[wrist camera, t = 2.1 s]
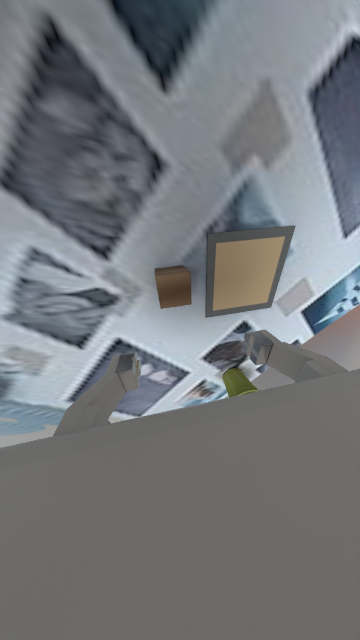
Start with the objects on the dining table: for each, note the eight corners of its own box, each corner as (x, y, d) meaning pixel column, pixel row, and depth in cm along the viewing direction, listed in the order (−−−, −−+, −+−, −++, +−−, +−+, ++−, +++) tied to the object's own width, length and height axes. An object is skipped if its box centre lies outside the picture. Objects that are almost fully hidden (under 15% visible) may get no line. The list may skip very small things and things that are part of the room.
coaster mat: (207, 233, 23) (208, 233, 22) (294, 225, 24) (295, 225, 24) (205, 317, 31) (206, 317, 31) (270, 306, 32) (271, 307, 32)
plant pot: (219, 386, 46) (232, 414, 39) (214, 370, 41) (228, 398, 34) (245, 377, 46) (263, 403, 39) (244, 359, 41) (263, 386, 34)
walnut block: (154, 268, 24) (155, 276, 19) (182, 265, 24) (190, 272, 19) (159, 295, 27) (160, 308, 21) (184, 292, 27) (191, 304, 22)
